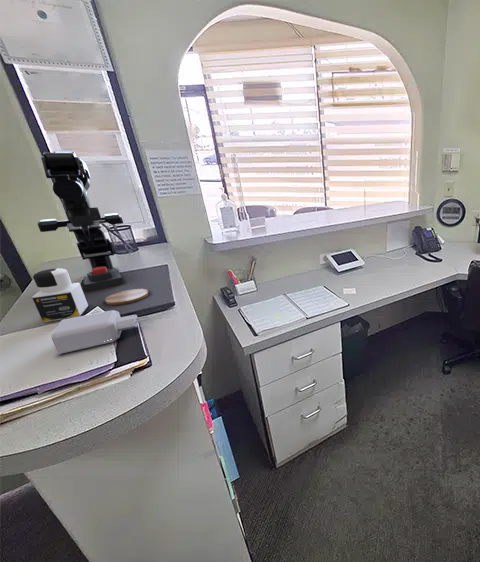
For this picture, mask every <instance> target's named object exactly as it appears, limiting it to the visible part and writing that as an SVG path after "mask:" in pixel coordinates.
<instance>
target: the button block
mask: <svg viewBox="0 0 480 562" xmlns="http://www.w3.org/2000/svg"><path fill="white" fill-rule="evenodd" d="M107 271H108V272H105V273H101V274H93V272H92V271H90V272H88V273H86V275H85V276H83V277H82V278H83V284H84V287H85V290H86V292H91V291H96V290H101V289H104V288H111V287H115V286H119V285H123V284H124V281H123V278H122V276H121V274H120V272H119V270H116V271H113V269H107Z"/></svg>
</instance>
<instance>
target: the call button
mask: <svg viewBox="0 0 480 562" xmlns="http://www.w3.org/2000/svg"><path fill="white" fill-rule="evenodd" d="M91 272H93V274H101V273H105V272H108V271H107V268H106V267H105V266H101V267H96V268H93V269H92V268H91Z"/></svg>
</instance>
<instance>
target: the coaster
mask: <svg viewBox="0 0 480 562" xmlns="http://www.w3.org/2000/svg"><path fill="white" fill-rule="evenodd" d="M149 293H150V292H149V290H148V289H145V288H132V289H126V290H122V291H118V292H114V293H113V294H110V295H108V296H106V297H105V299H104V301H105V304H107V305H109V306H110V305H111V306H120V305H126V304H132V303H134V302H135V303H136V302H138V301H141V300H143V299H145V298H147V297H148V296H149Z"/></svg>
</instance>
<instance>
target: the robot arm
mask: <svg viewBox="0 0 480 562" xmlns="http://www.w3.org/2000/svg"><path fill="white" fill-rule="evenodd" d="M75 152H76V151H73V150H63V149H62V150H59V149H58V150H54V151H53V152H43V154H42V155H43V156H41V157H40V159H41V162H42V166H43V170H44V175H45V177H46V179H54V180H55V182H54V183H53V185H52V191H53V193H54V194H55V196H56V197H58V198H59V199H61V202H62V205H63V207H64V210H65V214H66V217H67V219H66V220H58V219H57V218H47V219H40V220H39V221H38V222H37V227H38V229H39V232H40V233H46V232H47V233H48V232H56V231H57V230H59V228H67V229H68V232H69V233H75V234H76V237H77V240H78V241H76V247H77V249H78V251H79V254H80V256H81V258H82V260H83V261H84V260H88V261H89V264H90V267H91V270H92V269H93V268H96V267H101V266H105V267H106V268H107V269H113V271H117V269H116V268H115V267H114V265H113V261H112V258H111V256H114V255H117V252H116V248H115V245H114V243H113V242H112V241H111V240H110V238H107V236H106V234H105V232H104V231H102V230H101V229H102V226H101V224H109V225H110V226H113V225H122V224H124V219H123V217H122V215H121V214H119V213H117V212H116V213H105V214H103V216H101V212H100V210H99V208H98V206H95V207H92V205H91V202H90V199H89V195H88V190H89V188H90V187H91V183H90V180H91V175H90V171H89V168H88V166H87V164H86V162H85V161H84V160H82V159H81V158H80V157H78V156H77V155H76V153H75Z"/></svg>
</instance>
